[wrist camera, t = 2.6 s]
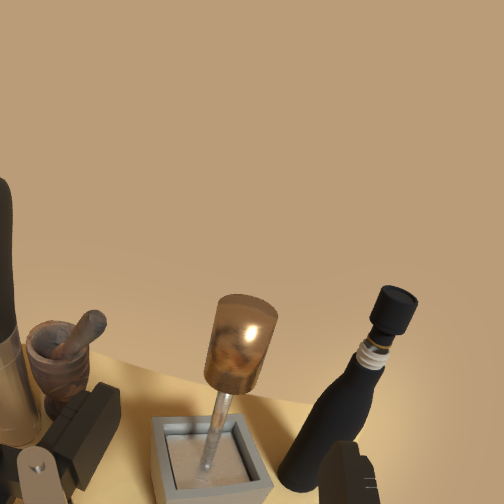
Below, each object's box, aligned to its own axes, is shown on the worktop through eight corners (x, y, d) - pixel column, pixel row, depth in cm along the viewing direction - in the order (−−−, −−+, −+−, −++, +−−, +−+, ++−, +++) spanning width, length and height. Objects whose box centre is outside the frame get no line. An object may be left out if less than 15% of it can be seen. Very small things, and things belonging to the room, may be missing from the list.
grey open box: (163, 534, 24) (166, 499, 20) (150, 469, 33) (151, 416, 29) (246, 525, 28) (273, 486, 24) (223, 465, 37) (242, 413, 33)
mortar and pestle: (118, 397, 43) (118, 285, 36) (110, 440, 35) (102, 326, 29) (50, 382, 40) (35, 270, 34) (35, 421, 32) (5, 304, 26)
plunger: (177, 495, 23) (205, 343, 16) (165, 439, 29) (185, 280, 23) (249, 487, 26) (320, 340, 19) (229, 435, 32) (276, 286, 25)
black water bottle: (271, 483, 35) (367, 295, 25) (285, 452, 41) (369, 272, 31) (314, 498, 33) (435, 319, 23) (324, 466, 39) (426, 293, 29)
